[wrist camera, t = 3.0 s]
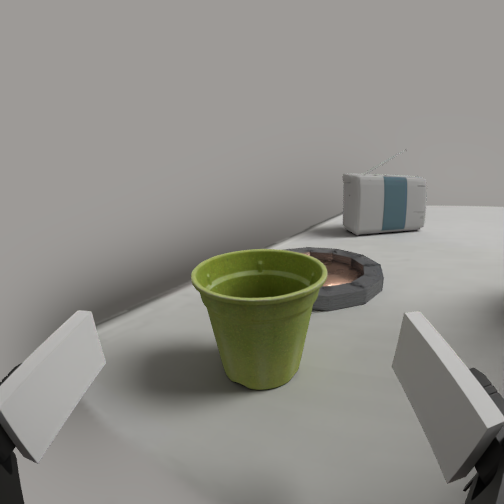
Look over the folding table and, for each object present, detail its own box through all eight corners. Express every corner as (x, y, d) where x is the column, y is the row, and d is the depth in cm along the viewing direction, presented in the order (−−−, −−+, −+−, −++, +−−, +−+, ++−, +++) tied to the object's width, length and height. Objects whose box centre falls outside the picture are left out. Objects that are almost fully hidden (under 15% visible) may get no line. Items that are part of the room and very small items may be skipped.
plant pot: (339, 388, 20) (353, 283, 18) (213, 417, 18) (196, 307, 16) (294, 329, 29) (296, 244, 27) (198, 345, 27) (187, 256, 24)
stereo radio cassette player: (356, 238, 62) (357, 142, 56) (338, 229, 69) (338, 143, 63) (425, 232, 65) (429, 149, 60) (405, 224, 73) (407, 149, 67)
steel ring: (376, 261, 47) (377, 251, 46) (386, 314, 30) (389, 300, 30) (269, 255, 52) (268, 245, 52) (230, 301, 36) (229, 287, 35)
